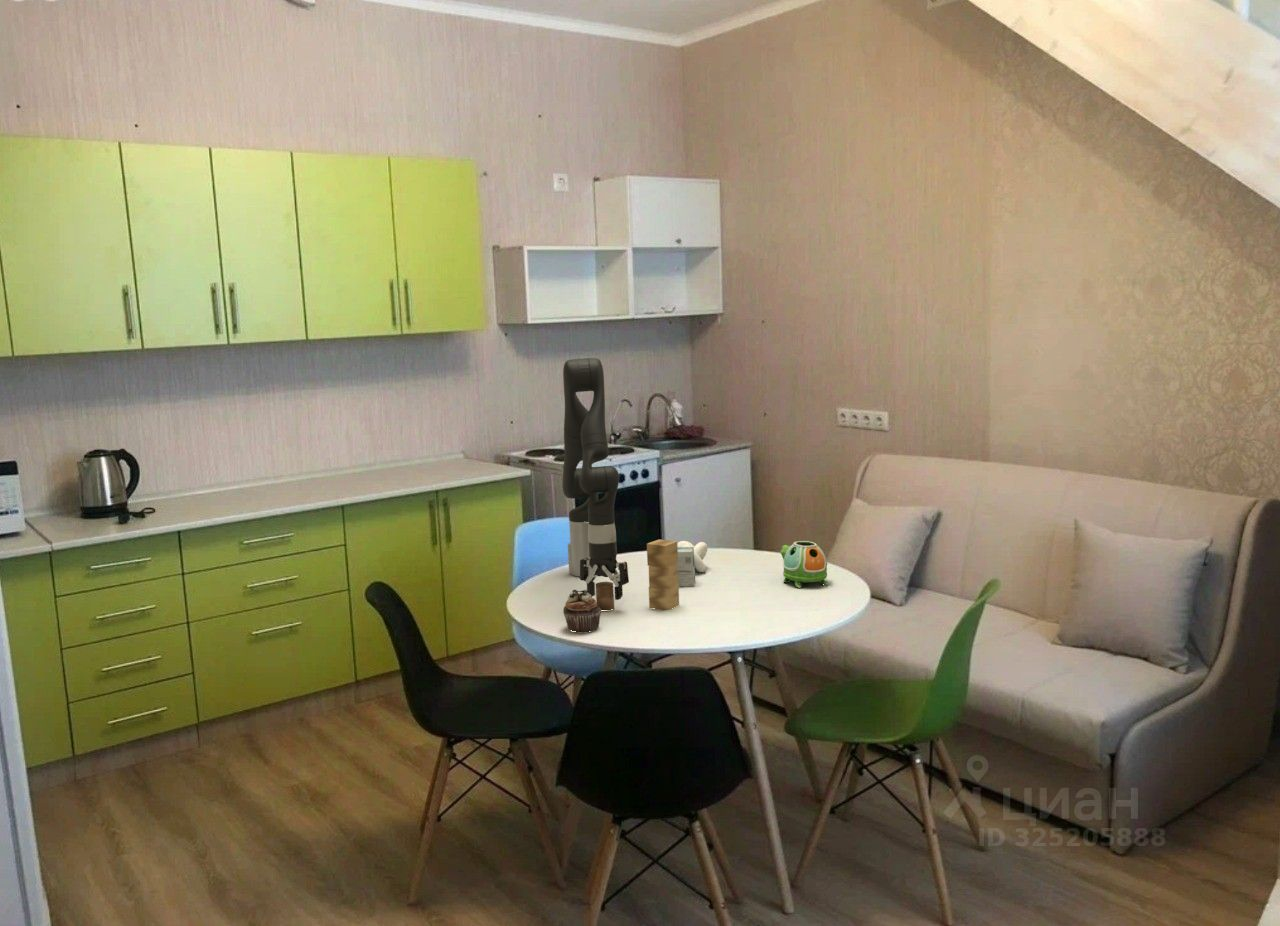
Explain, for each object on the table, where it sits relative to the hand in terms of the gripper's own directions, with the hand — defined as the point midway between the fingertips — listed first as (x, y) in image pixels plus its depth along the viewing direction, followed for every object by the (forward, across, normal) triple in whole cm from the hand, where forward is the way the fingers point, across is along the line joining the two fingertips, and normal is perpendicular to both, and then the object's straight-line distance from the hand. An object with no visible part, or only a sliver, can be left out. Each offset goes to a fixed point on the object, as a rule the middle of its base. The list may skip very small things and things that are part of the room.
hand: (605, 597), depth 280 cm
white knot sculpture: (+3, +2, +45) cm, 45 cm away
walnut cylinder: (+3, 0, 0) cm, 3 cm away
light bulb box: (+3, +6, +30) cm, 31 cm away
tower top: (-9, +14, +8) cm, 18 cm away
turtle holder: (+3, +39, +46) cm, 60 cm away
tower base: (+3, +14, +8) cm, 16 cm away
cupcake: (+4, +4, -17) cm, 18 cm away
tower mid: (-3, +14, +8) cm, 16 cm away
